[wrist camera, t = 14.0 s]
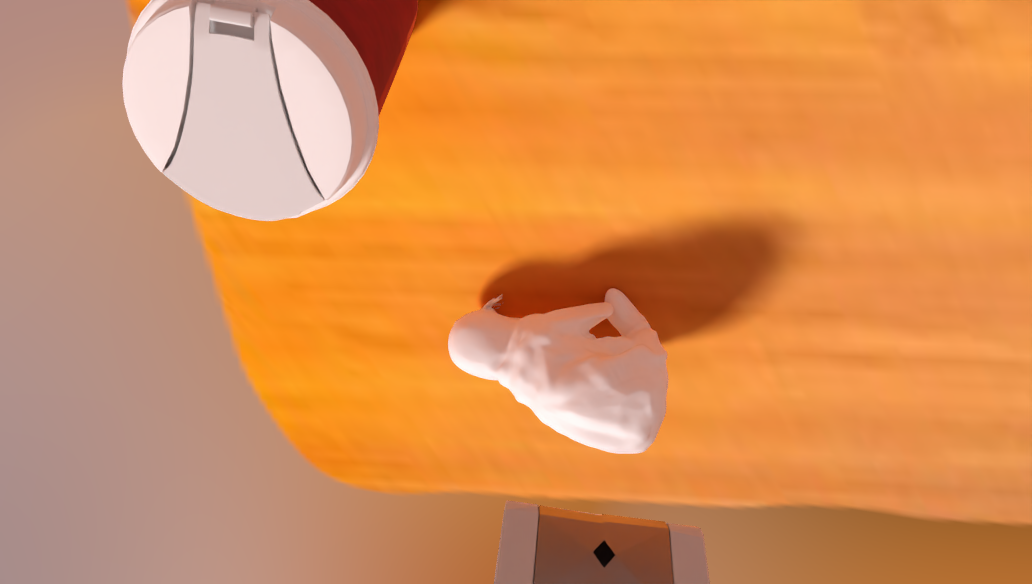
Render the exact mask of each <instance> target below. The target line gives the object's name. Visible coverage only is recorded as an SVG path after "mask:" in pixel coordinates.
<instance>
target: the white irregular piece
mask: <svg viewBox="0 0 1032 584" xmlns="http://www.w3.org/2000/svg"><path fill="white" fill-rule="evenodd" d="M502 295H503V294H502ZM502 295H500V296H499V297H497V298H496V299H494V298H493V299H492V300H490V301H489V302H487V303H486V304H485V305H484V306H483V308H481V309H480V310H477V311H473V312H471V313H468V314H465V315H464V316H463V317H461V318H460V319H458V320H457V321H456V322H455V324H454V326H453V328H452V330H451V332H450V335H449V340H448V349H449V354H450V357H451V359H452V361H453V362H454V363H455V365H456V366H458V367H459V368H460V369H462V370H463V371H465V372H467V373H469V374H472V375H474V376H477V377H480V378H484V379H489V380H498V381H499V382H500V384H501V385H503V386H505V387H506V388H508V389H509V390H510V391H511V392H512V393H513V395H514V396H515V398H516V400H517V401H518V402H520V403H523V404H525V405H527V406H528V407H530V408H531V409H532V410H533V412H534V413H535V415H536V416H537V417H538V418H539V419H540V420H541V421H542V422H543V423H544V424H546V425H548V426H550V427H551V428H553V429H554V430H555V431H557V432H558V433H561V434H563V435H565V436H567V437H569V438H571V439H572V440H574V441H577V442H579V443H582V444H584V445H587V446H590V447H594V448H597V449H600V450H604V451H607V452H611V453H641V452H644V451H645V450H647V448H648V447H649V446H650V445H651V444H652V443H653V442H654V440H655V438H656V436H657V433H658V431H659V429H660V426H661V424H662V421H663V419H664V416H665V413H666V395H667V388H668V373H667V367H666V359H667V352H666V351H665V349H664V348H663V347H662V345H661V343H660V341H659V339H658V334H657V332H656V331H655V330H653V329H651V327H650V325H649V323H648V322H647V320H646V318H645V317H644V316H643V315H642V314H640V313H639V311H638V310H637V309H636V307H635V306H634V305H633V304H632V303H631V302H630V300H629V299H628V298H627V297H626V296H625V295H624V294H623V293H622V292H621V291H620V290H617V289H615V288H611V289H609V290H608V291H607V292H606V295H605V302H604V303H593V304H586V305H581V306H575V307H569V308H563V309H558V310H554V311H551V312H548V313H545V314H531V315H527V316H525V317H523V318H511V317H507V316H503V315H500V314H498V313H496V312H497V311H496V312H495V310H494V308H491V307H493V306H494V305H493V304H495V303H496V302H498V301H499V300H501V299H502V298H503V297H502V298H500V297H501V296H502ZM499 298H500V299H499ZM504 302H505V301H504ZM498 304H499V303H498ZM492 305H493V306H492ZM495 305H497V304H495ZM497 306H498V305H497ZM495 309H497V308H495ZM606 318H608V320H609V322H610V323H611V324H612V325H613V326H614V327H615V328H616V329H617V330H618V331H619V333H620V334H621V336H619V337H610V336H607V337H602V338H597V339H596V337H595V336H594V335H593V334H590V333H589V330H590V329H591V328H593V327H594V326H595V325H597V324H598V323H600V322H601V321H603V320H604V319H606Z"/></svg>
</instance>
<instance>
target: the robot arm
mask: <svg viewBox="0 0 1032 584" xmlns="http://www.w3.org/2000/svg"><path fill="white" fill-rule="evenodd" d="M494 584H710V581H709V574H708V567H707V558H706V550H705V543H704V535H703V533H702V531H701V529H700V528H699V527H694V526H685V525H678V524H669V523H665V522H663V521H655V520H646V519H638V518H630V517H622V516H614V515H606V514H605V515H604V514H602V515H597V514H591V513H585V512H578V511H572V510H566V509H560V508H553V507H547V506H541V505H540V506H539V507H538V505H536V504H529V503H521V502H514V501H506V505H505V510H504V517H503V524H502V531H501V538H500V545H499V552H498V560H497V567H496V573H495V581H494Z"/></svg>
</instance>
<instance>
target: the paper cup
mask: <svg viewBox="0 0 1032 584" xmlns="http://www.w3.org/2000/svg"><path fill="white" fill-rule="evenodd" d="M417 12H418V0H151V1H150V2H149V3H148V5H147V6H146V7H145V8H144V10H143V11H142V12H141V14H140V15H139V17H138V19H137V21H136V23H135V25H134V27H133V29H132V33H131V37H130V40H129V44H128V50H127V57H126V61H125V64H124V71H123V95H124V104H125V107H126V111H127V115H128V119H129V122H130V124H131V127H132V129H133V131H134V134H135V136H136V138H137V140H138V141H139V143H140V145H141V146H142V148H143V150H144V152H145V153H146V154H147V156H148V157H149V158H150V160H151V161H152V162H153V164H154V165H155V166H156V167H157V168H158V169H159V171H161V172H163V174H164V175H165V176H166V177H168V178H169V179H170V180H172V181H173V182H174V183H175V184H177V185H178V186H179V187H180V188H182V189H183V190H185V191H186V192H187V193H189V194H190V195H192V196H193V197H194V198H196V199H197V200H199V201H201V202H203V203H205V204H207V205H209V206H210V207H212V208H215V209H218V210H220V211H223V212H226V213H229V214H233V215H235V216H239V217H243V218H248V219H253V220H261V221H276V220H281V219H285V218H297V217H299V216H302V215H304V214H306V213H309V212H311V211H314V210H317V209H320V208H322V207H325V206H328V205H329V204H331V203H333V202H335V201H336V200H338V199H340V198H342V197H343V196H344V195H345V194H346V193H347V192H349V191H350V190H351V189H352V188H353V187H354V186H355V185H356V184H357V182H358V181H359V180H360V179H361V177H362V176H363V175H364V173H365V171H366V169H367V167H368V166H369V164H370V162H371V160H372V157H373V154H374V151H375V147H376V144H377V137H378V129H379V117H378V116H379V114H380V112H381V109H382V107H383V104H384V102H385V99H386V97H387V95H388V92H389V90H390V87H391V85H392V82H393V80H394V77H395V75H396V72H397V70H398V67H399V65H400V62H401V60H402V57H403V55H404V52H405V50H406V47H407V45H408V42H409V39H410V37H411V34H412V31H413V28H414V25H415V21H416V17H417Z"/></svg>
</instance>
